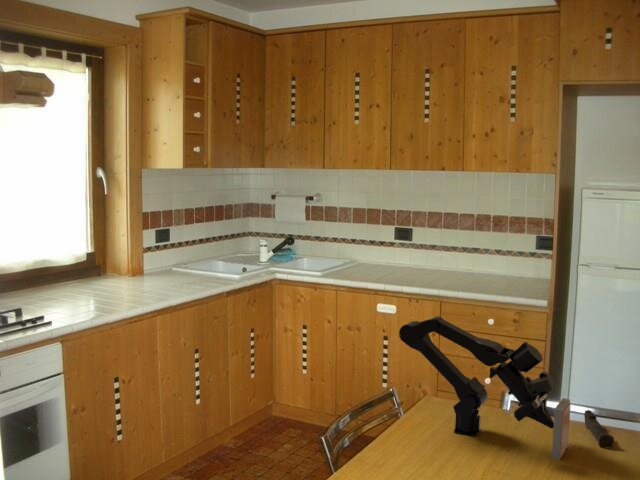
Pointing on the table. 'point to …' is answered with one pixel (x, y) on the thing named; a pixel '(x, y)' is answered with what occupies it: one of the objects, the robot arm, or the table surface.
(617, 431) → the table surface
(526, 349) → the robot arm
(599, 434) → the dark brown rough rod
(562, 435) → the tile
